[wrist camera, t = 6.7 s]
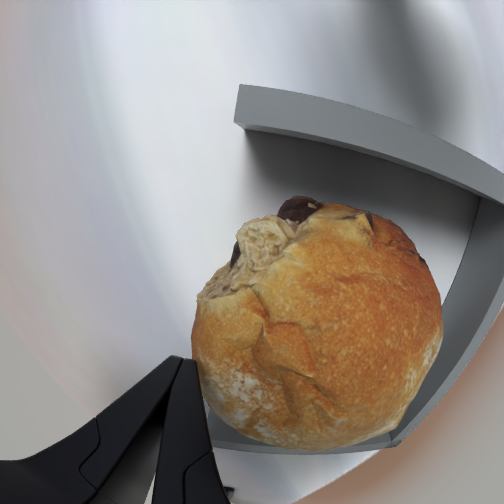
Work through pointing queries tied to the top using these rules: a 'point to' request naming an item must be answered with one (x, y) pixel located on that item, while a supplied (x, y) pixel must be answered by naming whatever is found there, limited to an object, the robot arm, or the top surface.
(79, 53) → the top surface
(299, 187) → the top surface
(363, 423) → the bread roll
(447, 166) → the grey u-shaped frame
